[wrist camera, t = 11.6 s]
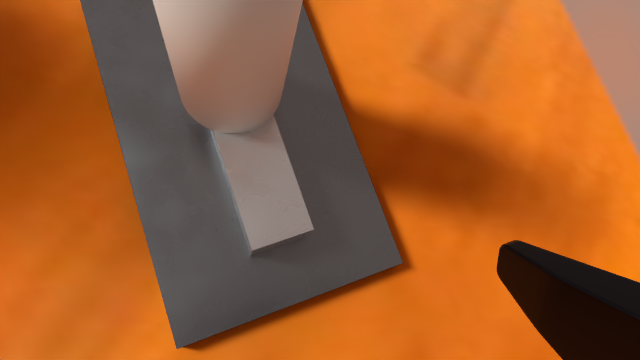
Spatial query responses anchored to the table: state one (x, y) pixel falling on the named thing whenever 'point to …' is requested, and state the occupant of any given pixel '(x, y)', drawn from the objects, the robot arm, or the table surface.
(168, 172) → the ridge plate
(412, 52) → the table surface
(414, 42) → the table surface
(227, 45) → the off-white dowel
